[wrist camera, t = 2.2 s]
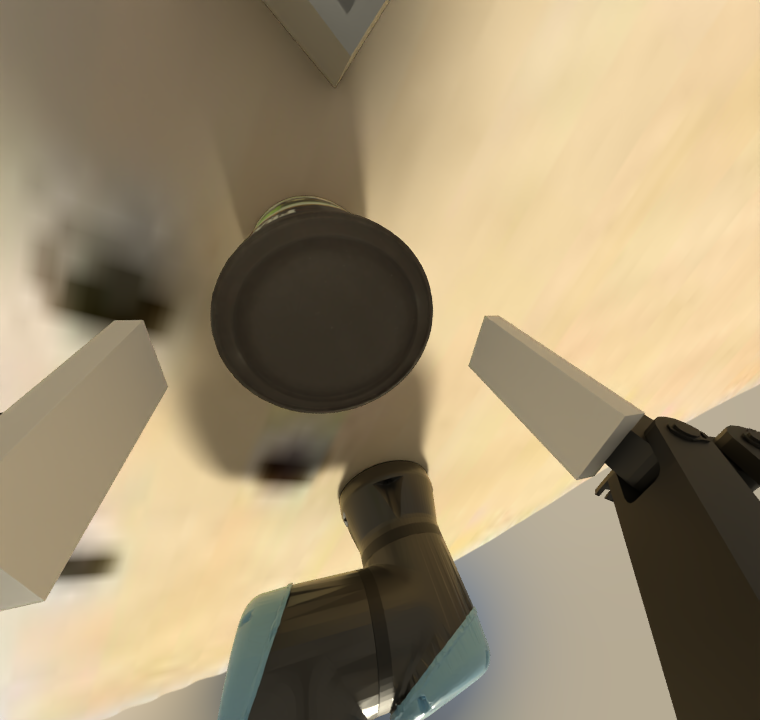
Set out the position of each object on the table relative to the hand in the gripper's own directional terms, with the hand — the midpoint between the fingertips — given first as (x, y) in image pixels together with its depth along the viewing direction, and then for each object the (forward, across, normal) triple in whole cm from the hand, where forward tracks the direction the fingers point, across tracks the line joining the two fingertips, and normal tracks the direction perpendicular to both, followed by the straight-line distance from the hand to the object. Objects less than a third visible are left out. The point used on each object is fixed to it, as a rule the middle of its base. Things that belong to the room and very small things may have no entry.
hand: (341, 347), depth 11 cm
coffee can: (+16, 0, 0) cm, 16 cm away
